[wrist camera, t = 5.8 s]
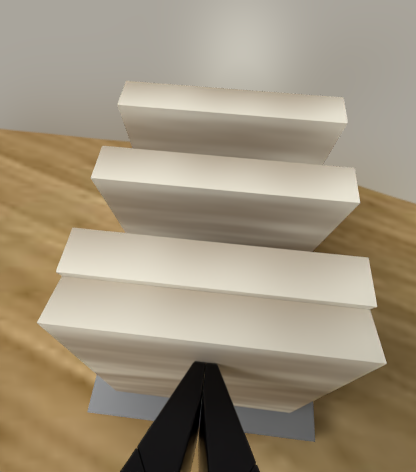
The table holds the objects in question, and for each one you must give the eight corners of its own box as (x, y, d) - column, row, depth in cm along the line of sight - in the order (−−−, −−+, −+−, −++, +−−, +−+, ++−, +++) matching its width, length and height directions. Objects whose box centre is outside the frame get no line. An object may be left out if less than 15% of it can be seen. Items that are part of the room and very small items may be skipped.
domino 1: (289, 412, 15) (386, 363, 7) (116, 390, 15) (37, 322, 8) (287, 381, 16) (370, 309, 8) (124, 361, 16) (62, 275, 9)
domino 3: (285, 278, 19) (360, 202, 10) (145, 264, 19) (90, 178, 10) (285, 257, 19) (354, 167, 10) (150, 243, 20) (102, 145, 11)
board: (308, 436, 16) (314, 441, 15) (93, 409, 16) (87, 412, 15) (299, 205, 22) (302, 199, 21) (147, 191, 23) (145, 184, 22)
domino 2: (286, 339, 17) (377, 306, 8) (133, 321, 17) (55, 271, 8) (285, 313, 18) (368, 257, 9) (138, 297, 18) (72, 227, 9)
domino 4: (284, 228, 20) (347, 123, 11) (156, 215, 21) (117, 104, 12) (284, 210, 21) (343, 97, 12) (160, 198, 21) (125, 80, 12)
